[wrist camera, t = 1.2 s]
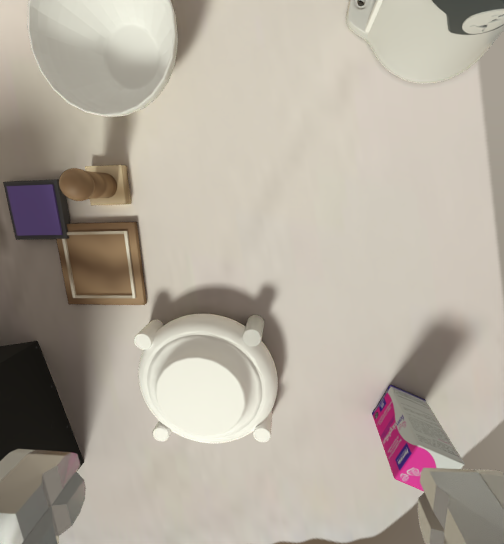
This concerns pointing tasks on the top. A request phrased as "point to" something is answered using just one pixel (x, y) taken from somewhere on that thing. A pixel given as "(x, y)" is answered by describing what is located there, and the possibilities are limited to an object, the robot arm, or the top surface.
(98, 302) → the board
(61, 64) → the bowl
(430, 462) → the supplement box
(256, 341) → the round stand with pegs
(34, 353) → the coffee maker
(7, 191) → the ink pad
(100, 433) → the top surface
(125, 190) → the stamp
